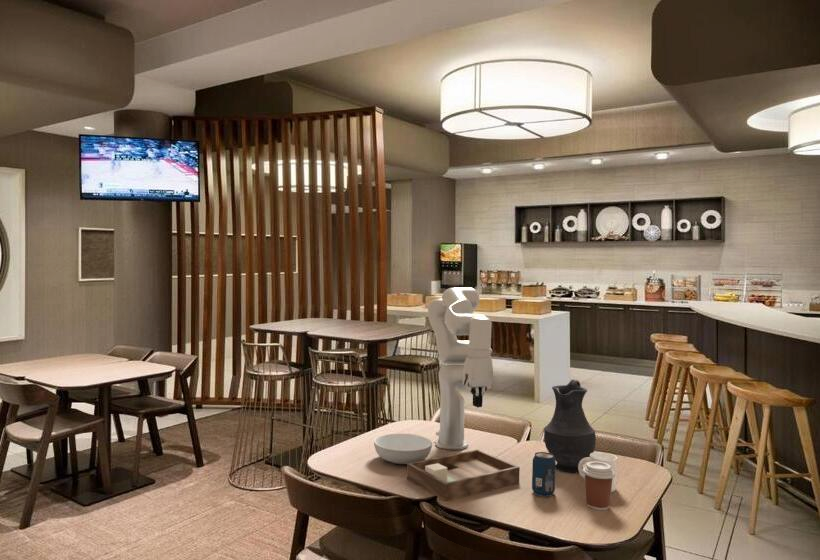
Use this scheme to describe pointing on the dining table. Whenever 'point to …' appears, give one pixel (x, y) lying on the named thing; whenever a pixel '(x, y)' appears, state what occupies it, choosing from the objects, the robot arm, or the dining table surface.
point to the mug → (603, 458)
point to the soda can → (543, 474)
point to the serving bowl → (402, 447)
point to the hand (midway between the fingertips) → (477, 406)
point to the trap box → (464, 474)
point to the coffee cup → (598, 484)
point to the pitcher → (569, 429)
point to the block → (437, 471)
